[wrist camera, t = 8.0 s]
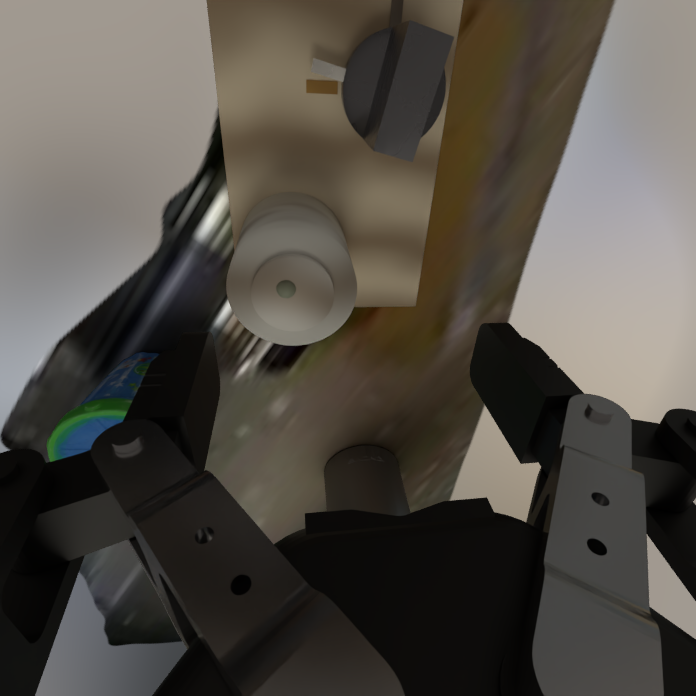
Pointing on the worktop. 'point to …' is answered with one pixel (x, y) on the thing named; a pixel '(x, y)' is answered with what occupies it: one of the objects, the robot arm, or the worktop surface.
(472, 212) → the worktop surface
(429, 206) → the base
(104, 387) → the snack cup
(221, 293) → the worktop surface
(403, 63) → the dark grey rotary knob
